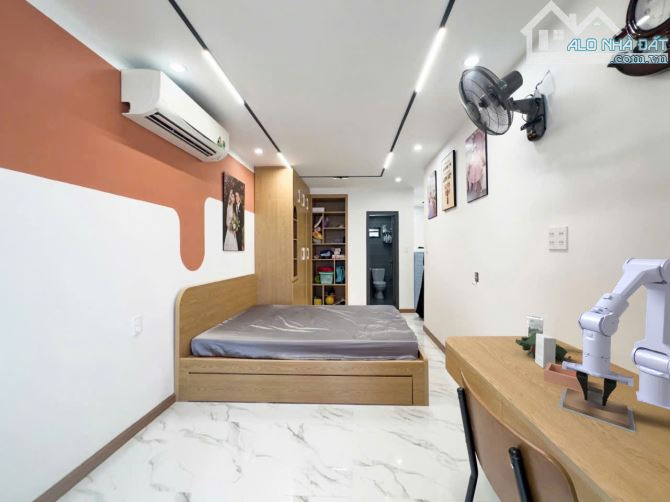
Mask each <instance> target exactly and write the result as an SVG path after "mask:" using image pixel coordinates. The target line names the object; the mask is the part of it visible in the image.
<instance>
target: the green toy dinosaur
mask: <svg viewBox="0 0 670 502" xmlns="http://www.w3.org/2000/svg"><path fill="white" fill-rule="evenodd" d="M537 334H538V333H537ZM515 343H516V344H517V345H518V346H521V348H522V350H523V351H525V352H526V354H527V355H529V356H530V357H531V358H532V359H535V353H536V332H535V333H534V334H533V335H532V336H531V337H527V336H521V338H520V339H517V338H515ZM568 353H569V352H568V351H567V350H566V349H565V348H564V347H563V346H562V345H561V346H560V344H557V343H556V347H555V358H556V359H558V360H560V361H561V362H562V363H563V361H565V362H570V361H571V359H572V356H570V355H568V357H567V358H565V357H566V355H567V354H568Z"/></svg>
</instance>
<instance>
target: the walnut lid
mask: <svg viewBox="0 0 670 502" xmlns="http://www.w3.org/2000/svg"><path fill="white" fill-rule="evenodd" d="M566 388H567V389H566V390H567V391H566V394H565V398H564V401H563V407H564V408H567V409H570V410H573V411H576V412H579V413H582V414H585V415H588V416H591V417H594V418H597V419H600V420H603V421H606V422H609V423H612V424H615V425H618V426H621V427H624V428H627V429H630V423H629V416H628V408H629V407H628V405H626V404H624V403H623V404H622V403H621V402H616V401H612V400H610V399H607V402H606V406H603V405H602V399H603V392H604V389H601V388H599V387H595V386H591V385H588V397H587V401H586V400H584V394H583V392H582V391H578V390H575V389H571V388H568V387H566Z"/></svg>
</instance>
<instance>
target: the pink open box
mask: <svg viewBox="0 0 670 502" xmlns="http://www.w3.org/2000/svg"><path fill="white" fill-rule="evenodd" d="M543 369H544V370H543V381H544V382H547V383H552V384H554V385H558V386H561V387H564V388H569V389H572V390H575V391H579V392H582V393H583V390H582V388H581V385H580V383H579V381H578V379H577V377H576V372H575V371H571V370H564V369H562V364H557V363H555V364H554V363H550V362H548V364H547V366H546V368H543Z"/></svg>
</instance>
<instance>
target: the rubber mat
mask: <svg viewBox="0 0 670 502" xmlns="http://www.w3.org/2000/svg"><path fill="white" fill-rule="evenodd" d="M566 391H567V389H565V388H564V389H563V390H562V392H561V396H560V397H559V398H560V399H559V402H558V404H557V408H559V409H562V410H566V411H569V412H572V413H573V414H576V415H580V416H583V417H585V418H589V419H592V420H594V421H597V422H601V423H604V424H606V425H609V426H613V427H616V428H619V429H622V430H624V431H628V432H631V433H633V434H636V433H637V432H636V425H635V419H634V413H633V409H632V408H629V407H627V408H628V416H629V423H630V429H627V428H624V427H621V426H618V425H615V424H612V423H609V422H606V421H603V420H600V419H597V418H594V417H591V416H588V415H585V414H582V413H579V412H576V411H573V410H570V409H567V408H564V407H563V401H564V398H565V394H566Z"/></svg>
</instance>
